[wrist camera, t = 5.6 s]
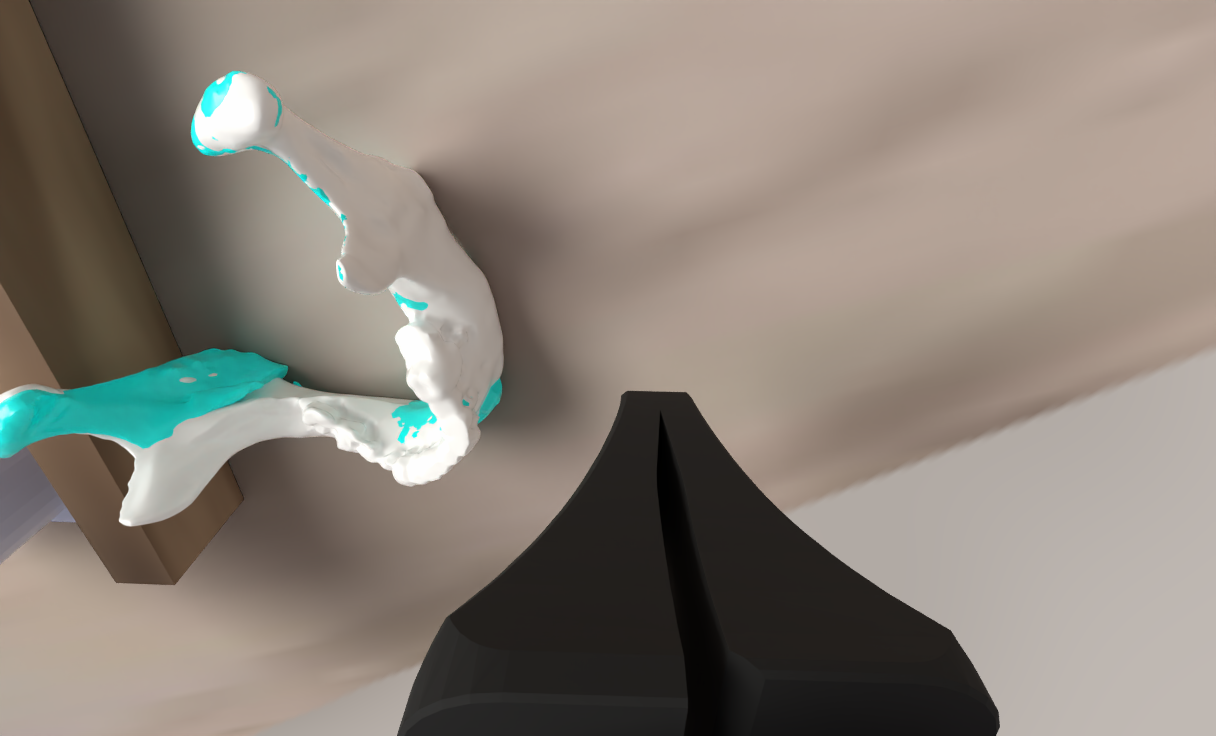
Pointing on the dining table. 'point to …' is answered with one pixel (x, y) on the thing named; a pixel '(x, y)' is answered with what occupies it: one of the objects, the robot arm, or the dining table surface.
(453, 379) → the jawbone
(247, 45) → the dining table surface
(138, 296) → the cleat board
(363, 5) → the dining table surface
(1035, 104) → the dining table surface
